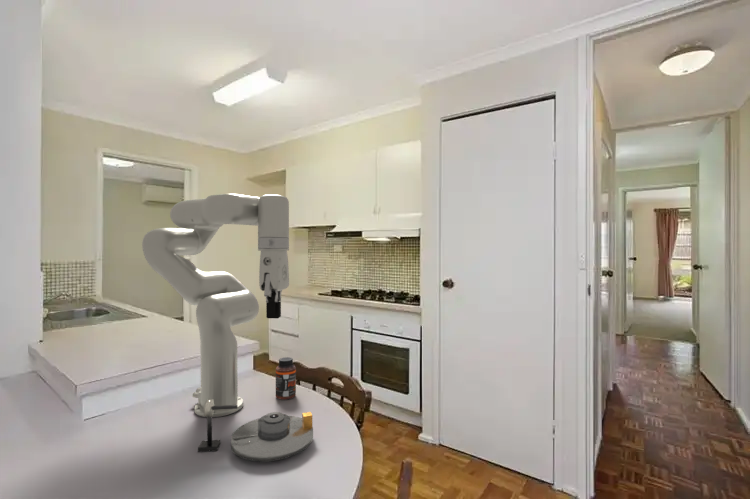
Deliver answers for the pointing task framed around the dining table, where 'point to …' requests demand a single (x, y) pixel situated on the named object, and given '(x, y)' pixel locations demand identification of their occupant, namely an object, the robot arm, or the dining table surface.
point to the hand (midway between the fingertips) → (273, 317)
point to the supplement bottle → (285, 379)
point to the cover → (273, 426)
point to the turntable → (258, 449)
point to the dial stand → (208, 412)
